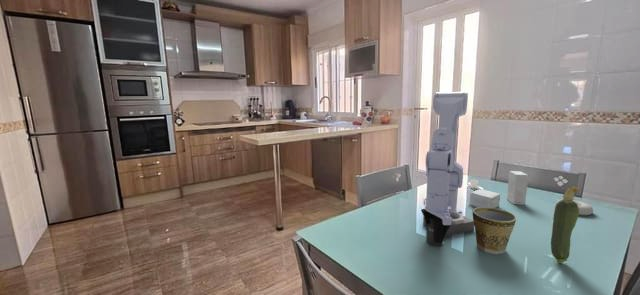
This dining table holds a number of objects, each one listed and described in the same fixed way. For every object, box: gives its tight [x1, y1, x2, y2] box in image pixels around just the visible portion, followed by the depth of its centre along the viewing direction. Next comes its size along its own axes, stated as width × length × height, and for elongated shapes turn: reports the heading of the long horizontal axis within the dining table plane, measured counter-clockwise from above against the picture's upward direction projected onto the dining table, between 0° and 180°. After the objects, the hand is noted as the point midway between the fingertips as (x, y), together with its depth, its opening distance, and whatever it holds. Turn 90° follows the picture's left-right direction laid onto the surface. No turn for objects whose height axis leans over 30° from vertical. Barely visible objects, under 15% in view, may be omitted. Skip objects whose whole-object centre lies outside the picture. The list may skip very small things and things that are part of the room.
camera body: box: [422, 211, 475, 237], centre depth 88 cm, size 9×12×4 cm
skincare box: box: [506, 170, 529, 206], centre depth 108 cm, size 6×4×12 cm
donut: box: [555, 199, 594, 216], centre depth 99 cm, size 10×4×10 cm
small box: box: [468, 188, 501, 208], centre depth 106 cm, size 8×8×5 cm
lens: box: [425, 223, 444, 247], centre depth 78 cm, size 4×4×5 cm
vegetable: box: [550, 185, 580, 265], centre depth 67 cm, size 4×4×20 cm
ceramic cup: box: [472, 207, 517, 255], centre depth 76 cm, size 13×10×10 cm
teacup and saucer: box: [463, 179, 484, 191], centre depth 127 cm, size 9×8×4 cm
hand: (434, 237), depth 79 cm, fingers closed on lens, 4 cm apart
